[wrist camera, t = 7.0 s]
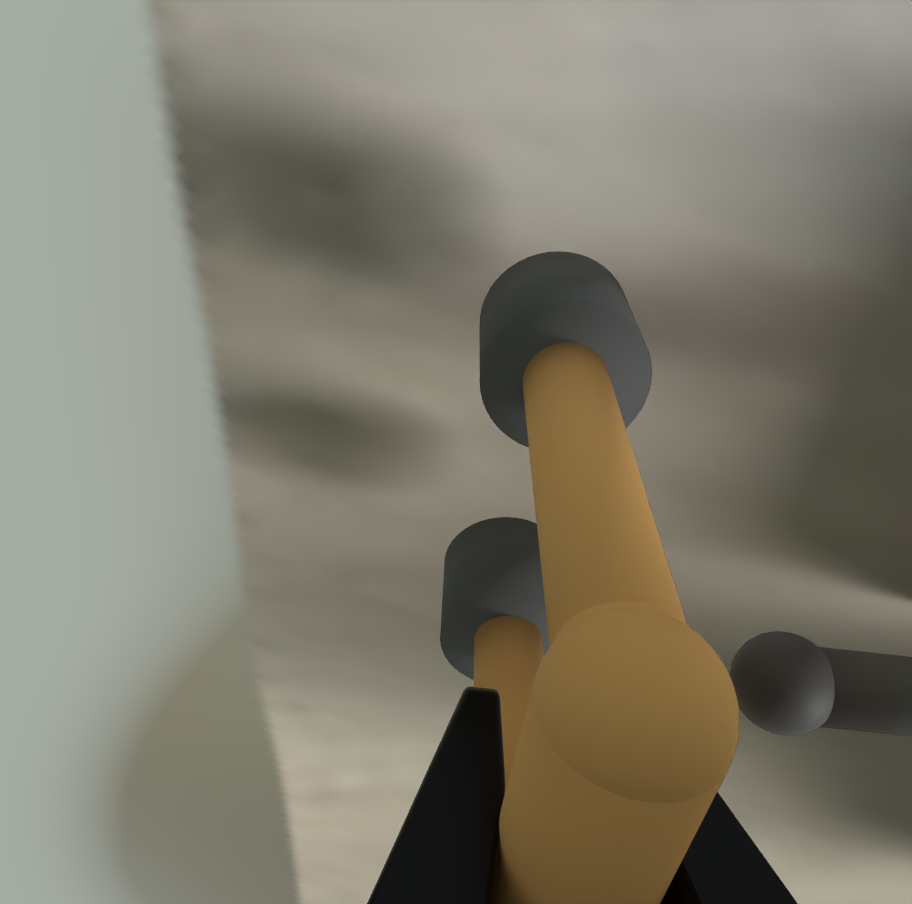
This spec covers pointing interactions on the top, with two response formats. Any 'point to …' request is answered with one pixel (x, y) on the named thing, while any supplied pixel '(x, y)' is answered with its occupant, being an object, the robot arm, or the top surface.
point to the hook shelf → (821, 687)
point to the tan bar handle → (583, 609)
